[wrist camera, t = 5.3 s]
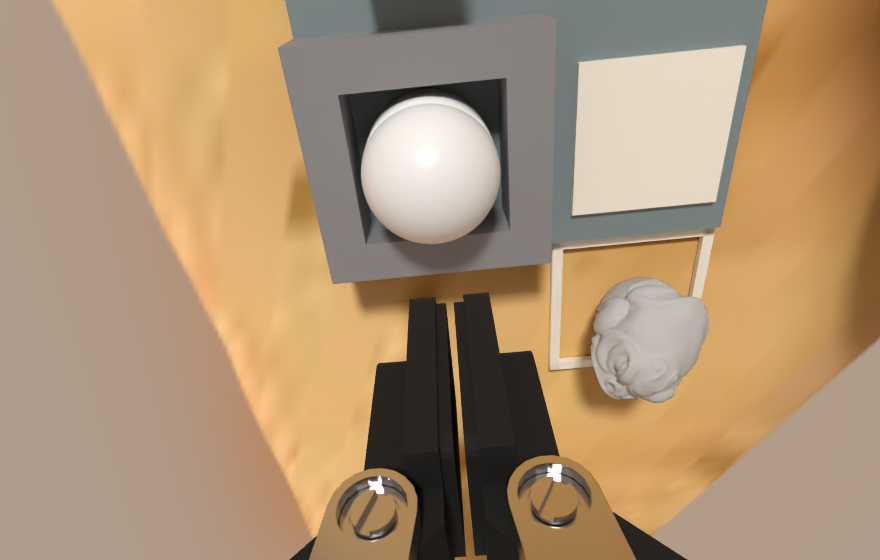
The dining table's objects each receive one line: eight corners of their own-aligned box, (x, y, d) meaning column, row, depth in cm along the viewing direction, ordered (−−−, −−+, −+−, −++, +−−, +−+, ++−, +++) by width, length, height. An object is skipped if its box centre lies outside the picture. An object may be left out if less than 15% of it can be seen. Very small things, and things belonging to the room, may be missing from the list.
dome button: (357, 95, 24) (339, 131, 18) (489, 82, 23) (508, 114, 18) (377, 216, 27) (367, 275, 22) (493, 205, 27) (511, 262, 21)
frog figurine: (549, 312, 32) (578, 389, 26) (636, 232, 30) (689, 298, 24) (613, 358, 35) (653, 439, 29) (699, 287, 32) (764, 361, 26)
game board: (237, -249, 19) (183, -313, 15) (819, -315, 19) (941, -401, 14) (371, 382, 35) (364, 442, 31) (686, 353, 35) (725, 409, 30)
